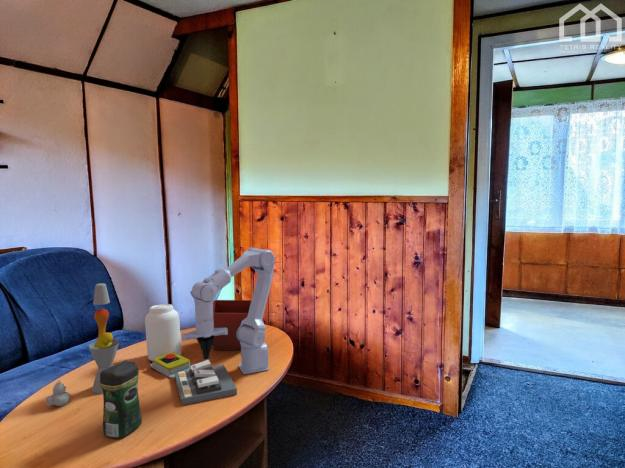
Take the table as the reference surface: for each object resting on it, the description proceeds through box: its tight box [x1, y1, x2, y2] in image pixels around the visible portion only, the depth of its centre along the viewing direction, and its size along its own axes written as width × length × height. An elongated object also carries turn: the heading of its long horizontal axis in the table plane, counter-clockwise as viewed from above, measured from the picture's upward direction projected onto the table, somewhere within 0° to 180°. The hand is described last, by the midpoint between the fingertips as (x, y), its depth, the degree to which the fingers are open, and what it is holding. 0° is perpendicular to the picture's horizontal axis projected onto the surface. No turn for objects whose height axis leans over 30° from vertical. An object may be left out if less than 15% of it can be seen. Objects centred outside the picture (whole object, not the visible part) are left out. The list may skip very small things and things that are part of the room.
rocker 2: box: [194, 370, 215, 377], centre depth 142 cm, size 6×4×1 cm, turn 114°
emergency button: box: [149, 352, 192, 380], centre depth 155 cm, size 9×4×15 cm
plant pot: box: [212, 299, 252, 351], centre depth 178 cm, size 19×19×17 cm
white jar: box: [144, 303, 182, 362], centre depth 166 cm, size 12×12×20 cm
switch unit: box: [174, 364, 238, 406], centre depth 142 cm, size 17×20×4 cm
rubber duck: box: [45, 379, 71, 407], centre depth 129 cm, size 5×7×8 cm
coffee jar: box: [100, 359, 143, 439], centre depth 116 cm, size 10×8×19 cm
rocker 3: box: [197, 376, 219, 388], centre depth 136 cm, size 6×4×1 cm, turn 114°
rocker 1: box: [190, 359, 212, 372], centre depth 148 cm, size 6×4×1 cm, turn 113°
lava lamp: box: [88, 283, 120, 395], centre depth 140 cm, size 9×9×35 cm
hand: (206, 358), depth 141 cm, fingers closed
